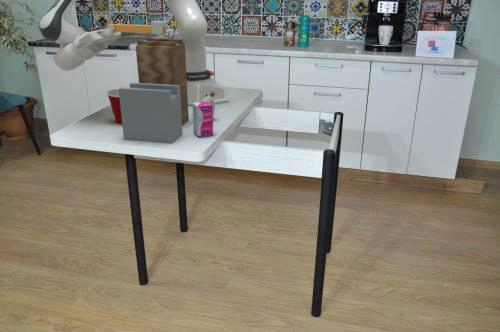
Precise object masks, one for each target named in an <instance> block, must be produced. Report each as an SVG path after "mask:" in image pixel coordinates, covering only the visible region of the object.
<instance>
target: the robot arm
mask: <svg viewBox="0 0 500 332" xmlns="http://www.w3.org/2000/svg"><path fill="white" fill-rule="evenodd" d="M77 1H78V0H55V2H54V4H53V5H52V6H51V7H50V9H49V10H48V11H46V13H44V14H43V16H42V17H40V19H39V22H38V28H39V32H40V34H41V36H42V37H43V38H44V39H46V40H49V41H52V42H54V43H57V44H58V45H60V47H59V49H58V51H57V52H56V53H55V54H54V56H53V57H52V58H53V62H54V63H55V65H56V66H57V67H58V68H60V69H61V70H63V71H66V72H69V71H74V70H75V69H77V68H79V67H81V66H82V65H83V64H85V62H86V61H88V60H91V59H93V58H95V57H96V56H97V55H99V54H100V53H102V52H103V51H105V50H106V49H108V47H109V45H111V44H112V43H113V42H115V41H116V40H117V39H119V38H120V37H121V36H122V32H113V31H114V30H116V28H115V26H114V25H112V26H110V27H108V28H107V27H106V28H101V29H97V30H92V31H90V32H89V31H86V30H85V29H83V28H82V27H80V26H79V25H77V24H76V23H73V22H72V21H70V20H69V19H66V18H65V17H66V15H67V14H68V12H70V10H71V8H72V7H73V6H74V4H75V3H76V2H77ZM164 1H165V3H166V6H167V7H168V9H169V11H170V13H172V16H173V18H174V19H175V21H176V24H177V33H178V34H177V35H178V39H183V43H185V56H186V75H187V95H188V106H193V103H197V102H201V101H202V99H203V98H204V97H207V96H209V97H211V98H212V99H213V101H214V105H216V104H221V103H226V102H227V103H228V102H230V98H229V96H227V95H226V94H225V91H224V88H223V86H222V85H221V84H220V83H218V82H217V81H216V80H215V79H213V78H212V77H214V76H215V72H214V71H212V70H208V69H207V51H206V45H205V39H204V38H205V37H204V36H205V35H206V34H207V33H208V22H207V20H206V18H205V15H204V14H203V12H202V10H201V8H200V6H199V4H198V3H197V2H196V0H164Z"/></svg>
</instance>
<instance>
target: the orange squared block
mask: <svg viewBox="0 0 500 332" xmlns="http://www.w3.org/2000/svg"><path fill="white" fill-rule="evenodd" d="M112 25H114V26H115V28H116V30H114V31H113V32H121V33H132V34H133V33H134V34H135V33H136V34H138V33H139V34H152V35H154V34H157V35H163V34H168V33H167V32H168V31H167V30H168V29H167V20H153V21H151V23H150V24H129V23H128V24H124V23H123V24H122V23H121V24H119V23H108V24H106V28H108V27H110V26H112Z"/></svg>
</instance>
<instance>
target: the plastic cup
mask: <svg viewBox="0 0 500 332" xmlns="http://www.w3.org/2000/svg"><path fill="white" fill-rule="evenodd" d="M106 95H107V97H108V100H109V103H110V106H111V110H112V114H113V117H114V121H115V122H116V124H119V125H122V116H121V107H120V97H119V88H118V89H117V88H116V89H110V90H106Z"/></svg>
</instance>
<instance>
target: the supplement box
mask: <svg viewBox="0 0 500 332" xmlns="http://www.w3.org/2000/svg"><path fill="white" fill-rule="evenodd" d="M192 124H193V125H192V126H193V127H192V128H193V131H192V132H193V135H195V136H196V137H197V138H198V139H199V138H204V137H205V138H206V137H213V136H214V115H213V106H212V105H211V104H210V103H209V102H197V103H193V105H192Z"/></svg>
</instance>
